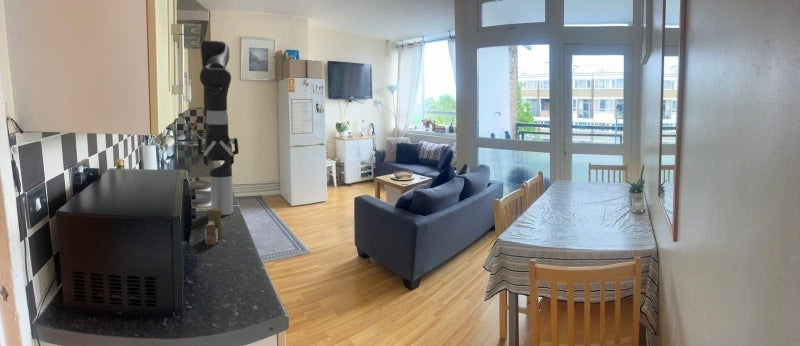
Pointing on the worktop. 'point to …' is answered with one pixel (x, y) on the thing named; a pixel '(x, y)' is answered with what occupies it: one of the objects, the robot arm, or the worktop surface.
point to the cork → (216, 219)
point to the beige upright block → (210, 233)
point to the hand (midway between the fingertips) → (219, 165)
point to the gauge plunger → (215, 233)
